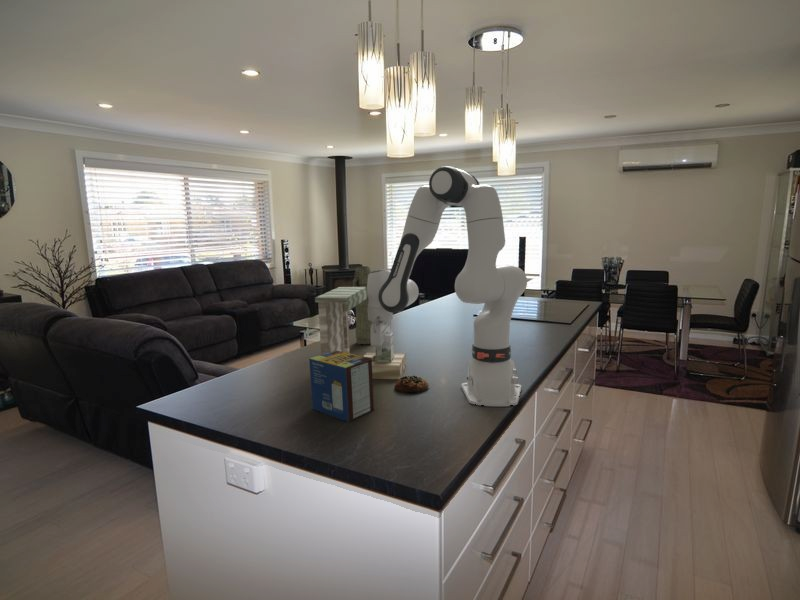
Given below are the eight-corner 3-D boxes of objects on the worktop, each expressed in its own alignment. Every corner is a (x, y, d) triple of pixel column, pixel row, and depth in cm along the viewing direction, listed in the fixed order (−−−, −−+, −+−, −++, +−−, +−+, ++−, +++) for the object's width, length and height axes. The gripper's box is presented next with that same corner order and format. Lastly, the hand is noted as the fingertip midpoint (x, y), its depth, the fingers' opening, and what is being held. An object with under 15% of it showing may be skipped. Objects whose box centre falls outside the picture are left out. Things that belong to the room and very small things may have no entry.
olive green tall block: (349, 344, 204) (346, 267, 198) (366, 338, 213) (363, 265, 208) (365, 346, 199) (362, 268, 193) (381, 341, 208) (378, 265, 203)
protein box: (337, 398, 138) (335, 349, 136) (374, 410, 128) (372, 357, 126) (311, 409, 130) (308, 357, 128) (348, 422, 120) (345, 367, 118)
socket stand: (396, 385, 148) (394, 297, 143) (319, 383, 152) (314, 297, 147) (408, 361, 175) (406, 286, 171) (342, 360, 179) (339, 286, 175)
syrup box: (394, 370, 165) (393, 331, 163) (391, 374, 159) (390, 334, 157) (379, 369, 166) (378, 331, 164) (376, 374, 160) (374, 334, 158)
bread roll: (399, 396, 139) (399, 379, 139) (390, 389, 149) (390, 374, 149) (433, 393, 142) (433, 377, 141) (422, 386, 152) (422, 371, 152)
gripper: (383, 320, 149) (385, 360, 151) (393, 309, 169) (394, 345, 171) (365, 320, 150) (366, 360, 152) (377, 309, 170) (378, 345, 172)
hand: (381, 352), depth 161 cm, fingers open, 6 cm apart
